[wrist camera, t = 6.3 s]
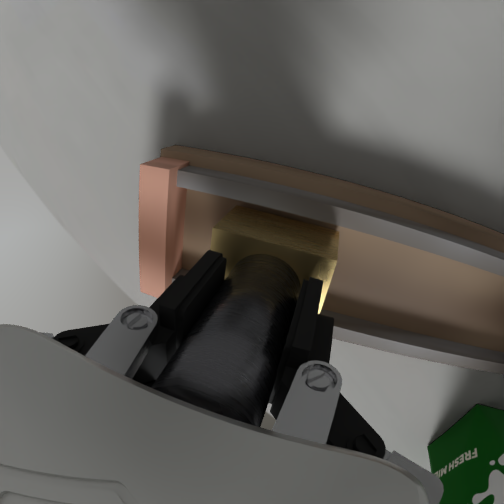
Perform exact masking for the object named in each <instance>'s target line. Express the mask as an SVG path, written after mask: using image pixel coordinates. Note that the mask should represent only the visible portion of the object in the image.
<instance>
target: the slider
mask: <svg viewBox="0 0 504 504" xmlns="http://www.w3.org/2000/svg"><path fill="white" fill-rule="evenodd" d="M338 246H339V231H335V230H331V229H327V228H324V227H320V226H316V225H313V224H309V223H305V222H301V221H297V220H293V219H290V218H286V217H282V216H278V215H274V214H270V213H266V212H262V211H258V210H254V209H250V208H246V207H241V206H237V205H236V206H235V207H234V208H233V209H232V210H231V211H230V212H229V213H228V214H227V215H226V216H224V217H223V218H222V219H221V220H220V221H219V222H218V223H217V224H216V225H215V226H214V227H213V229H212V238H211V247H210V250H212V251H215V252H219V253H222V254H223V257H224V258H226V260H227V262H226V270H225V279H224V282H223V283H222V285H221V286H220V288H219V289H218V291H217V292H216V293H215V295H214V296H213V298H212V299H211V301H210V302H209V304H208V305H207V307H206V308H205V309H204V311H203V312H202V314H201V315H200V317H199V318H198V320H197V321H196V322H195V324H194V325H193V327H192V328H191V330H190V331H189V333H188V334H187V336H186V337H185V339H184V340H183V341H182V343H181V344H180V346H179V347H178V349H177V350H176V352H175V353H174V355H173V356H172V357H171V359H170V360H169V362H168V363H167V365H166V366H165V368H164V369H163V371H162V372H161V374H160V375H159V376H158V378H157V379H156V381H155V382H154V384H153V385H152V387H151V388H153V389H155V390H157V391H160V392H162V393H164V394H167V395H169V396H172V397H174V398H177V399H179V400H182V401H184V402H187V403H189V404H192V405H195V406H197V407H200V408H203V409H205V410H208V411H211V412H214V413H217V414H220V415H223V416H226V417H229V418H232V419H235V420H238V421H241V422H244V423H247V424H251V425H254V426H257V427H260V426H261V423H262V420H263V417H264V414H265V411H266V408H267V405H268V402H269V399H270V396H271V393H272V389H273V386H274V383H275V380H276V376H277V368H278V365H279V362H280V359H281V355H282V352H283V349H284V345H285V342H286V339H287V335H288V332H289V329H290V325H291V322H292V318H293V315H294V312H295V308H296V304H297V301H298V297H299V294H300V290H301V287H302V283H303V279H305V280H309V278H310V277H312V278H316V279H320V280H323V287H322V293H321V298H320V304H319V310H318V314H320V312H321V309H322V306H323V303H324V300H325V297H326V294H327V291H328V288H329V285H330V282H331V279H332V276H333V273H334V270H335V267H336V264H337V259H338Z"/></svg>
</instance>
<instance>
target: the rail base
mask: <svg viewBox="0 0 504 504" xmlns="http://www.w3.org/2000/svg"><path fill="white" fill-rule="evenodd" d="M236 205H237V206H241V207H246V208H250V209H254V210H258V211H262V212H266V213H270V214H274V215H278V216H282V217H286V218H290V219H293V220H297V221H301V222H305V223H309V224H313V225H316V226H320V227H324V228H327V229H331V230H335V231H339V246H338V259H337V264H336V267H335V270H334V273H333V276H332V279H331V282H330V285H329V288H328V291H327V294H326V297H325V300H324V303H323V306H322V309H321V312H320V314H321V315H325V316H329V317H333V318H334V327H333V336H332V338H334V339H337V340H341V341H345V342H349V343H353V344H357V345H361V346H365V347H370V348H374V349H378V350H382V351H387V352H391V353H395V354H400V355H404V356H409V357H413V358H418V359H423V360H428V361H433V362H437V363H442V364H448V365H453V366H458V367H463V368H469V369H474V370H480V371H486V372H492V373H498V374H503V376H504V234H502V233H499V232H497V231H494V230H492V229H489V228H487V227H484V226H482V225H479V224H477V223H474V222H471V221H469V220H466V219H463V218H461V217H458V216H455V215H452V214H450V213H447V212H444V211H441V210H438V209H435V208H432V207H430V206H427V205H424V204H421V203H418V202H415V201H411V200H408V199H405V198H402V197H399V196H396V195H392V194H389V193H386V192H383V191H379V190H376V189H372V188H369V187H365V186H362V185H358V184H355V183H351V182H348V181H344V180H340V179H336V178H333V177H329V176H325V175H321V174H317V173H313V172H309V171H305V170H301V169H296V168H292V167H288V166H283V165H279V164H274V163H270V162H265V161H261V160H256V159H251V158H246V157H241V156H236V155H231V154H225V153H220V152H214V151H209V150H203V149H197V148H191V147H185V146H178V145H173V146H170V147H166V148H163V149H161V156H160V158H157V159H154V160H151V161H148V162H145V163H143V164H140V182H139V266H140V289H141V292H143V293H146V294H148V295H151V296H154V297H157V298H159V297H160V295H161V294H162V293H163V292H164V291H165V290H166V289H167V288H168V287H169V286H170V285H171V284H172V282H173V281H174V280H175V279H176V278H177V277H178V276H179V275H184V276H185V275H186V274H187V273H188V272H189V270H190V269H191V268H192V267H193V266H194V265H195V264H196V263H197V262H198V261H199V260H200V258H201V257H202V256H203V255H204V254H205V253H206V252H207V251H208V250H210V247H211V238H212V229H213V227H214V226H215V225H216V224H217V223H218V222H219V221H220V220H221V219H222V218H223V217H224V216H226V215H227V214H228V213H229V212H230V211H231V210H232V209H233V208H234V207H235V206H236Z"/></svg>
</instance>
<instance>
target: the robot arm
mask: <svg viewBox="0 0 504 504" xmlns="http://www.w3.org/2000/svg"><path fill="white" fill-rule="evenodd" d="M226 262H227V260H226V258H224V257H223V254H222V253H219V252H215V251H212V250H208V251H207V252H206V253H205V254H204V255H203V256H202V257H201V258H200V260H199V261H198V262H197V263H196V264H195V265H194V266H193V267H192V268H191V269H190V270H189V272H188V273H187V274H186V275H185V276H184V275H179V276H178V277H177V278H176V279H175V280H174V281H173V282H172V284H171V285H170V286H169V287H168V288H167V289H166V290H165V291H164V292H163V293H162V294H161V295H160V297H159V298H158V299H157V300H156V301H155V302H154V303H153V304H152V305H151V306H150V307H149V308H148V307H146V306H141V305H133V306H129V307H126V308H124V309H122V310H121V311H120V312H119V313H118V314H117V315H116V317H115V318H114V319H113V320H112V322H111V323H110V324H105V325H99V326H93V327H86V328H80V329H73V330H67V331H63V332H61V333H59V334H57V335H56V336H55V337H54V336H53V334H50V333H40V332H37V331H35V330H32V329H28V328H25V327H22V326H17V325H10V324H9V325H8V324H2V325H0V504H439V502H440V500H441V498H442V495H443V492H444V489H443V484H442V482H441V480H440V479H439V478H438V477H437V476H436V475H434V474H432V473H431V472H429V471H427V470H426V469H424V468H422V467H420V466H419V465H417V464H415V463H414V462H412V461H410V460H409V459H407V458H405V457H404V456H402V455H401V454H399V453H397V452H396V451H393V452H392V453H391V452H389V451H388V450H386V449H385V448H386V447H385V444H384V441H383V440H382V438H381V437H380V436H379V435H378V434H377V433H376V431H375V430H374V429H373V428H372V427H371V426H370V425H369V424H368V423H367V422H366V421H365V420H364V418H363V417H362V416H361V415H360V414H359V413H358V412H357V411H356V410H355V409H354V408H353V406H352V405H351V404H350V403H349V402H348V401H347V400H346V399H345V398H344V397H343V395H342V394H341V393H340V390H341V386H342V378H341V375H340V373H339V372H338V370H337V369H336V368H335V367H333V366H332V365H330V364H329V360H330V352H331V344H332V336H333V327H334V318H333V317H329V316H325V315H321V314H318V310H319V304H320V298H321V293H322V287H323V280H320V279H316V278H312V277H310V278H309V280H305V279H303V283H302V287H301V290H300V294H299V297H298V301H297V304H296V308H295V312H294V315H293V318H292V322H291V325H290V329H289V332H288V335H287V339H286V342H285V345H284V349H283V352H282V355H281V359H280V362H279V365H278V368H277V376H276V380H275V383H274V386H273V389H272V393H271V396H270V399H269V402H268V403H271V404H272V407H271V410H270V412H271V414H272V415H273V416H274V418H275V419H276V422H275V424H274V427H273V429H272V431H271V430H267V429H264V428H261V427H257V426H254V425H251V424H247V423H244V422H241V421H238V420H235V419H232V418H229V417H226V416H223V415H220V414H217V413H214V412H211V411H208V410H205V409H203V408H200V407H197V406H195V405H192V404H189V403H187V402H184V401H182V400H179V399H177V398H174V397H172V396H169V395H167V394H164V393H162V392H160V391H157V390H155V389H153V388H151V387H152V385H153V384H154V382H155V381H156V379H157V378H158V376H159V375H160V374H161V372H162V371H163V369H164V368H165V366H166V365H167V363H168V362H169V360H170V359H171V357H172V356H173V355H174V353H175V352H176V350H177V349H178V347H179V346H180V344H181V343H182V341H183V340H184V339H185V337H186V336H187V334H188V333H189V331H190V330H191V328H192V327H193V325H194V324H195V322H196V321H197V320H198V318H199V317H200V315H201V314H202V312H203V311H204V309H205V308H206V307H207V305H208V304H209V302H210V301H211V299H212V298H213V296H214V295H215V293H216V292H217V291H218V289H219V288H220V286H221V285H222V283H223V282H224V279H225V270H226Z"/></svg>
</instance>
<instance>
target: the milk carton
mask: <svg viewBox="0 0 504 504" xmlns="http://www.w3.org/2000/svg"><path fill="white" fill-rule="evenodd" d="M427 447H428V453H429V459H430V466H431V473H432V474H434V475H436V476H437V477H438V478H439V479H440V480H441V482H442V484H443V489H444V492H443V495H442V498H441V500H440V502H439V504H504V410H499V409H495V408H491V407H487V406H483V405H479V404H477V405H476V406H475V407H473V408H472V409H471V410H470V411H469V412H468V413H467V414H466V415H465V416H464V417H463V418H461V419H460V420H459V421H458V422H457V423H456V424H455V425H453V426H452V427H451V428H450V429H449V430H447V431H446V432H445V433H444V434H443V435H441V436H440V437H439V438H438V439H436V440H435V441H434V442H433V443H431V444H430V445H429V446H427Z"/></svg>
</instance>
